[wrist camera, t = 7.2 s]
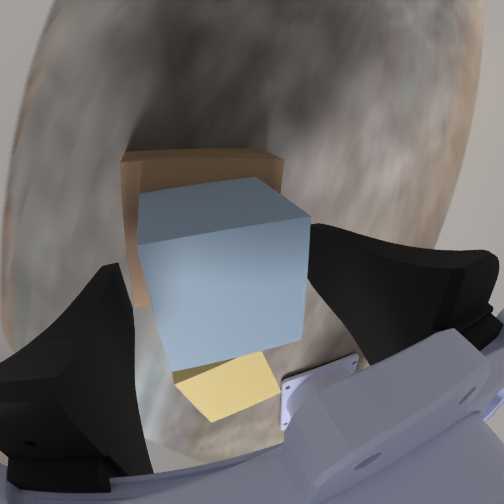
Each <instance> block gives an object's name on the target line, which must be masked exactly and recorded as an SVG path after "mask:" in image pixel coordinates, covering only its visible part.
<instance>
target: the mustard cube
mask: <svg viewBox="0 0 504 504" xmlns="http://www.w3.org/2000/svg"><path fill="white" fill-rule="evenodd" d="M172 374H173V379H174V384H175V385H176V387H177V388H178V389H179V390H180V391H181V392H182V393H183V394H184V395H185V396H186V397H187V398H188V399H189V400H190V401H191V403H192V404H193V405H194V406H195V407H196V408H197V409H198V410H199V411H200V412H201V413H202V414H203V415H204V416H205V417H206V418H207V419H208V420H209V421H210V422H214V421H216V420H219V419H221V418H224V417H226V416H229V415H231V414H234V413H236V412H239V411H241V410H243V409H246V408H248V407H250V406H252V405H255V404H257V403H259V402H261V401H264V400H266V399H268V398H270V397H272V396H274V395H276V394H279V393H281V390H280V388H279V386H278V384H277V382H276V380H275V378H274V376H273V374H272V372H271V369H270V367H269V365H268V363H267V361H266V359H265V357H264V355H263V353H262V351H260V352H256V353H252V354H248V355H244V356H240V357H236V358H232V359H228V360H224V361H220V362H215V363H211V364H207V365H202V366H198V367H193V368H188V369H183V370H178V371H173V372H172Z"/></svg>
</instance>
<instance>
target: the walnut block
mask: <svg viewBox="0 0 504 504" xmlns="http://www.w3.org/2000/svg"><path fill="white" fill-rule="evenodd" d="M283 163H284V159H281V158H279V157H277V156H274V155H272V154H270V153H267V152H265V151H263V150H260V149H233V148H195V149H160V150H141V151H126V152H125V154H124V156H123V158H122V160H121V162H120V166H121V189H122V205H123V218H124V230H125V240H126V249H127V258H128V266H129V273H130V281H131V288H132V294H133V300H134V307H135V308H136V307H147V306H151V302H150V299H149V295H148V291H147V287H146V283H145V279H144V275H143V271H142V267H141V262H140V258H139V254H138V249H137V226H138V207H139V194H140V193H145V192H151V191H157V190H163V189H169V188H175V187H181V186H188V185H194V184H201V183H208V182H216V181H223V180H231V179H239V178H247V177H257V178H258V179H260V180H261V181H263V182H264V183H265V184H267V185H268V186H270V187H271V188H273V189H274V190H275V191H277V192H278V193H280V191H281V182H282V172H283Z"/></svg>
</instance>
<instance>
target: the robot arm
mask: <svg viewBox="0 0 504 504" xmlns="http://www.w3.org/2000/svg"><path fill="white" fill-rule="evenodd" d="M498 273H499V260H498V258H497V257H496V256H495V255H494V254H492V253H490V252H489V251H486V250H466V251H465V250H464V251H452V250H433V249H424V248H416V247H410V246H405V245H399V244H394V243H390V242H386V241H382V240H378V239H374V238H371V237H367V236H364V235H361V234H357V233H354V232H351V231H347V230H344V229H341V228H337V227H334V226H330V225H326V224H320V223H317V224H311V225H310V242H309V258H308V273H307V278H308V279H309V281H310V283H311V284H312V286H313V287H314V289H315V290H316V291H317V293H318V294H319V295H320V296H321V297H322V299H323V300H324V301H325V302H326V303H327V305H328V306H329V307H330V308H331V309H332V311H333V312H334V313H335V314H336V315H337V316H338V318H339V319H340V320H341V321H342V322H343V324H344V325H345V326H346V328H347V329H348V330H349V332H350V333H351V335H352V336H353V338H354V339H355V341H356V343H357V344H358V346H359V347H360V349H361V351H362V352H363V354H364V356H365V358H366V359H367V361H368V363H369V365H370V366H369V367H367V368H365V369H362V370H360V371H358V372H356V373H355V371H356V367H357V364H358V360H359V355H358V354H357V353H355V354H352V355H349V356H347V357H344V358H342V359H339V360H337V361H334V362H331V363H329V364H326V365H323V366H321V367H318V368H315V369H312V370H309V371H307V372H304V373H301V374H298V375H295V376H292V377H289V378H286V379H284V380H283V381H282V383H281V411H280V429H281V430H285V432H284V442H283V443H280V444H277V445H274V446H271V447H268V448H265V449H262V450H259V451H255V452H252V453H248V454H245V455H241V456H238V457H234V458H230V459H226V460H222V461H218V462H214V463H209V464H205V465H200V466H195V467H190V468H185V469H180V470H174V471H168V472H162V473H153V469H152V466H151V462H150V459H149V455H148V451H147V447H146V443H145V439H144V434H143V430H142V425H141V420H140V415H139V409H138V403H137V397H136V390H135V327H134V317H133V308H132V305H131V302H130V299H129V296H128V293H127V290H126V286H125V283H124V280H123V277H122V273H121V270H120V267H119V263H114V264H109V265H104V266H102V267H101V268H100V269H99V270H98V272H97V273H96V274H95V275H94V277H93V278H92V279H91V280H90V282H89V283H88V284H87V285H86V287H85V288H84V289H83V290H82V292H81V293H80V294H79V295H78V296H77V297H76V299H75V300H74V301H73V302H72V303H71V304H70V306H69V307H68V308H67V309H66V310H65V311H64V312H63V313H62V314H61V315H60V317H59V318H58V319H57V320H55V321H54V322H53V323H52V324H51V325H50V326H49V327H48V328H47V329H46V330H45V331H44V332H42V333H41V334H40V335H39V336H37V337H36V338H35V339H34V340H33V341H31V342H30V343H29V344H28V345H26V346H25V347H24V348H22V349H21V350H19V351H18V352H17V353H15V354H13V355H12V356H11V357H9V358H7V359H6V360H4V361H3V362H1V363H0V451H2V452H3V453H4V454H5V455H6V456H7V457H9V459H8V467H7V466H5V465H2V464H0V504H504V444H503V442H502V441H501V440H500V439H499V438H498V437H497V435H496V434H495V433H494V432H493V431H492V430H491V429H490V427H489V426H488V425H487V424H486V422H487V421H488V420H489V419H490V418H491V417H492V416H493V415H494V413H495V412H496V411H497V410H498V409H499V408H500V407H501V406H502V405H503V404H504V309H503V310H502V311H501V312H500V313H499V314H498V316H497V317H495V316H493V315H492V314H491V312H492V311H493V307H492V306H491V305H490V304H489V303H488V301H489V299H490V296H491V293H492V291H493V288H494V285H495V283H496V280H497V277H498Z"/></svg>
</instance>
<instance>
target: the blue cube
mask: <svg viewBox="0 0 504 504" xmlns="http://www.w3.org/2000/svg"><path fill="white" fill-rule="evenodd" d="M310 223H311V216H310V215H308V214H307V213H306V212H304V211H303V210H302V209H300V208H299V207H298V206H296V205H295V204H293V203H292V202H291V201H289V200H288V199H287V198H285V197H284V196H282V195H281V194H280V193H278V192H277V191H275V190H274V189H273V188H271V187H270V186H268V185H267V184H265V183H264V182H263V181H261V180H260V179H258V178H257V177H247V178H239V179H231V180H223V181H216V182H208V183H201V184H194V185H188V186H181V187H175V188H169V189H163V190H157V191H151V192H145V193H140V194H139V207H138V226H137V249H138V254H139V258H140V262H141V267H142V271H143V275H144V279H145V283H146V287H147V291H148V295H149V299H150V302H151V306H152V310H153V313H154V317H155V321H156V324H157V327H158V331H159V334H160V338H161V341H162V344H163V347H164V351H165V354H166V357H167V360H168V363H169V366H170V369H171V372H173V371H178V370H183V369H188V368H193V367H198V366H202V365H207V364H211V363H215V362H220V361H224V360H228V359H232V358H236V357H240V356H244V355H248V354H252V353H256V352H260V351H264V350H267V349H271V348H274V347H278V346H282V345H285V344H288V343H292V342H295V341H299V340H302V332H303V322H304V311H305V299H306V286H307V273H308V258H309V242H310Z"/></svg>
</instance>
